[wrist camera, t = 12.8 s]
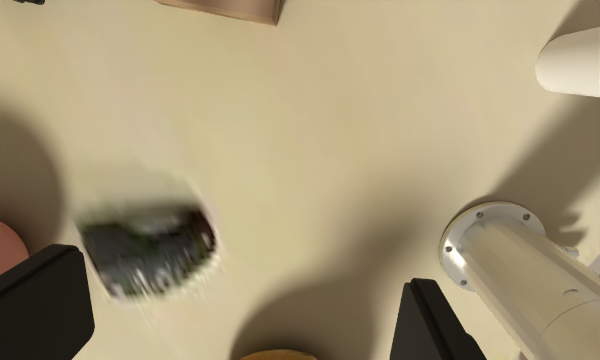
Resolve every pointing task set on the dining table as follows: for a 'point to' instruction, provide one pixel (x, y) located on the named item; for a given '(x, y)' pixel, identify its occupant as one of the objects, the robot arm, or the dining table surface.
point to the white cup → (571, 64)
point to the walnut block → (233, 8)
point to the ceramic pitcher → (279, 355)
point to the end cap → (32, 1)
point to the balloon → (10, 249)
